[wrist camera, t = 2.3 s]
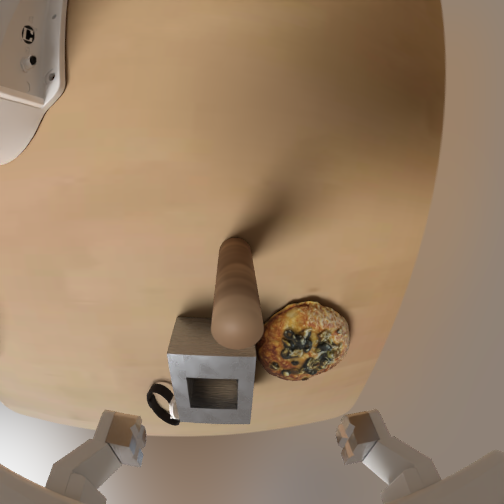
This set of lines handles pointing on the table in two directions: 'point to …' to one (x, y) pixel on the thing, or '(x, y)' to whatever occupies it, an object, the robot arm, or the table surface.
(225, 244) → the peg
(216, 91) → the table surface
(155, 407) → the watch
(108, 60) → the table surface
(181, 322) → the socket block
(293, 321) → the bread roll
